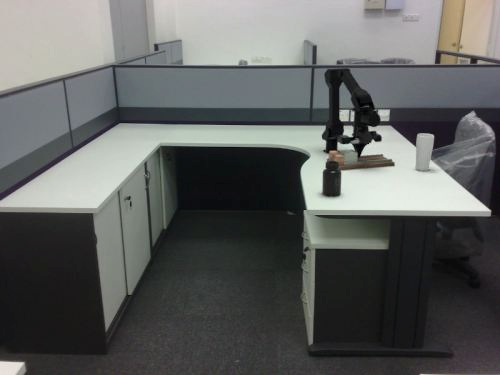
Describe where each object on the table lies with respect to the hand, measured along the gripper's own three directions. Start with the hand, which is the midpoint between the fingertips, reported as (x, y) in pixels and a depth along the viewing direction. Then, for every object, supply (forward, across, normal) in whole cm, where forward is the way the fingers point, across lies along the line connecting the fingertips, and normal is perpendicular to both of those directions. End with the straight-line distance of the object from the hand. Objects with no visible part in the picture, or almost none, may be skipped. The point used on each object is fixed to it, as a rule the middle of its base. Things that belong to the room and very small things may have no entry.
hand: (358, 157), depth 208 cm
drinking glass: (+3, +22, -15) cm, 27 cm away
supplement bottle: (+3, -26, -33) cm, 42 cm away
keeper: (+1, -5, 0) cm, 5 cm away
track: (+3, +1, 0) cm, 3 cm away
